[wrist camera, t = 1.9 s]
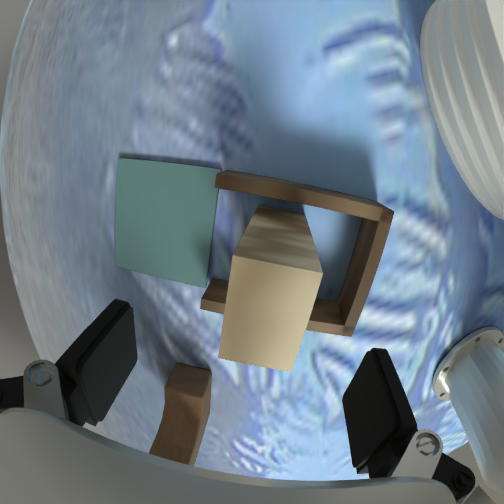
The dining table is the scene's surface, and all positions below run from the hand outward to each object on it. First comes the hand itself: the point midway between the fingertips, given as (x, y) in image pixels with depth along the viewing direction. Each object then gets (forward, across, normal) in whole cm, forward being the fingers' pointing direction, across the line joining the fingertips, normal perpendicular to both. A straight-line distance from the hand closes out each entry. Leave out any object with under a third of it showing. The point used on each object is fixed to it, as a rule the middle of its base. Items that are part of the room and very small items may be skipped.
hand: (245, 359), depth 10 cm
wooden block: (+15, +5, +21) cm, 27 cm away
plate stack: (+15, -25, -22) cm, 36 cm away
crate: (+15, -2, 0) cm, 15 cm away
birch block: (+15, -1, 0) cm, 15 cm away
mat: (+15, +10, 0) cm, 18 cm away
